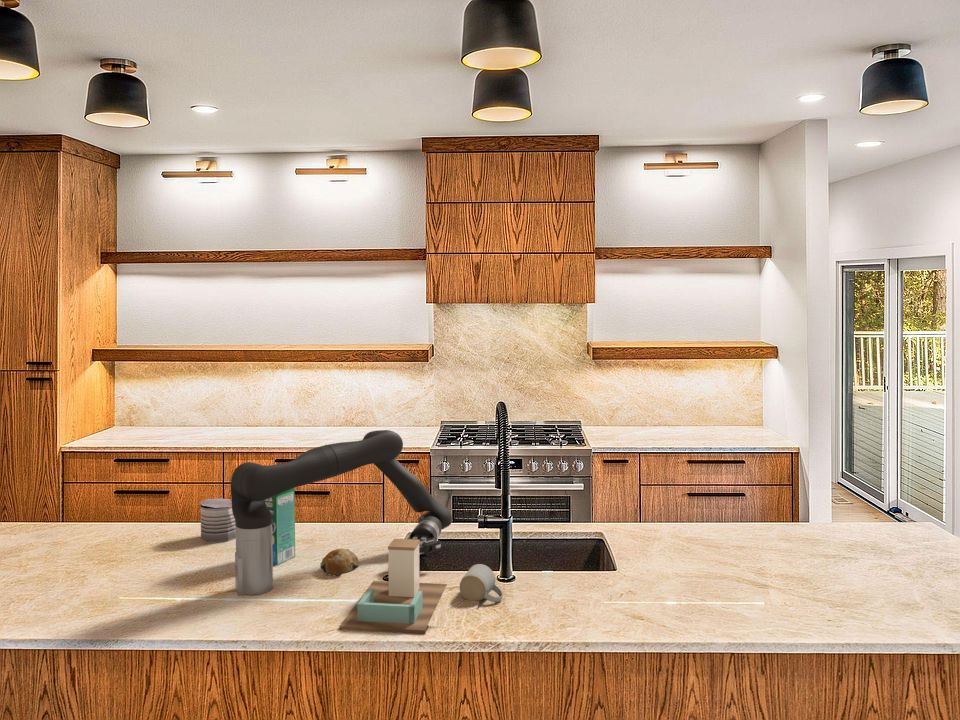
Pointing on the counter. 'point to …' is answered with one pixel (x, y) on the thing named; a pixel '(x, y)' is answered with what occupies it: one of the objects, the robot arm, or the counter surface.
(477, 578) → the ceramic mug
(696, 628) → the counter surface
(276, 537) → the milk carton
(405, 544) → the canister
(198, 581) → the counter surface
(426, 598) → the board
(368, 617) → the dock
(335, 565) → the bread roll
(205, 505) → the can
